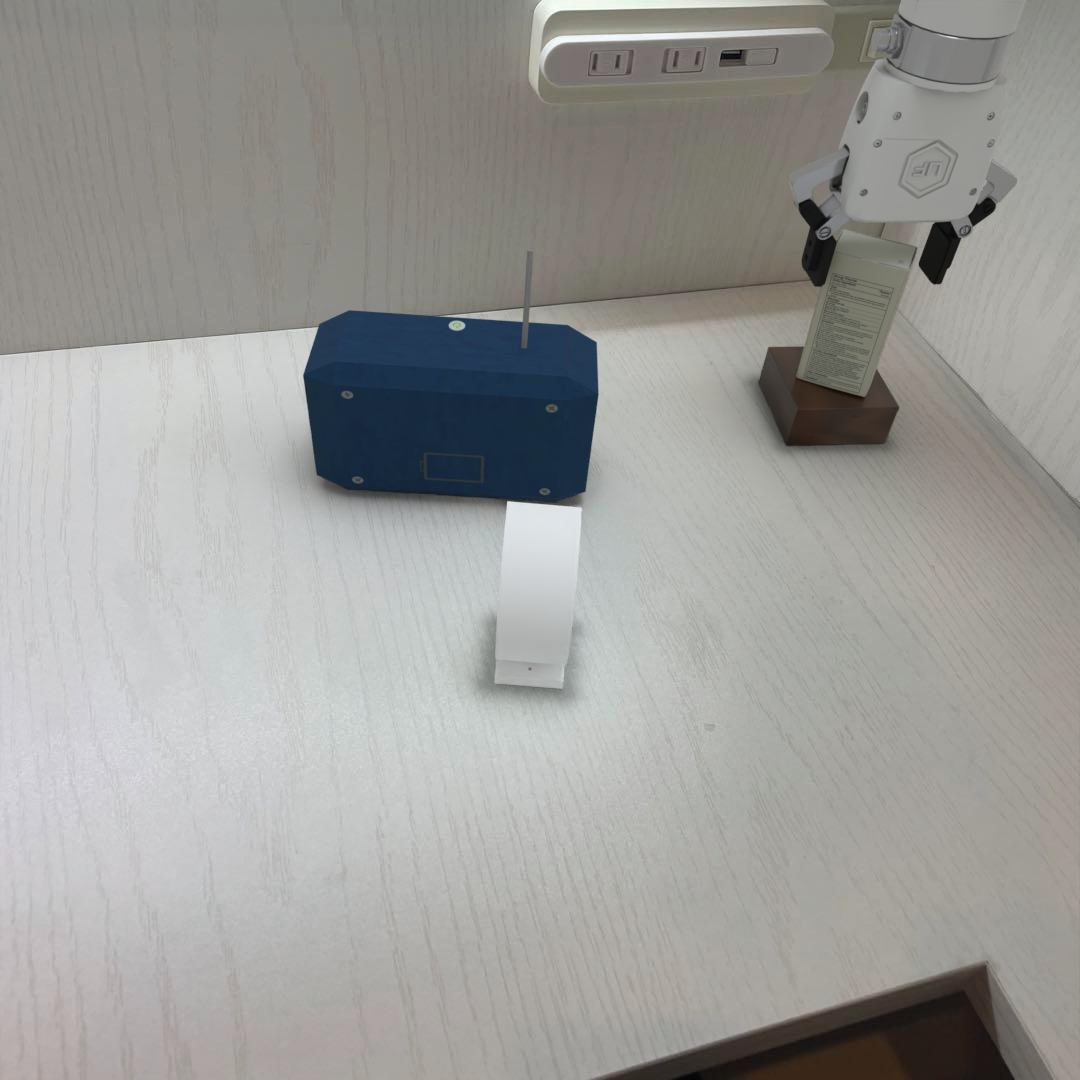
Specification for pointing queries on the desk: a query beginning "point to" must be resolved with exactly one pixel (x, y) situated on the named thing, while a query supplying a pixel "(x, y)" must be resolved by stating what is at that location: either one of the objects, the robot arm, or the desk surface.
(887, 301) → the cosmetic box
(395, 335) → the radio
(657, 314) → the desk surface
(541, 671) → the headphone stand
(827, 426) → the walnut block
